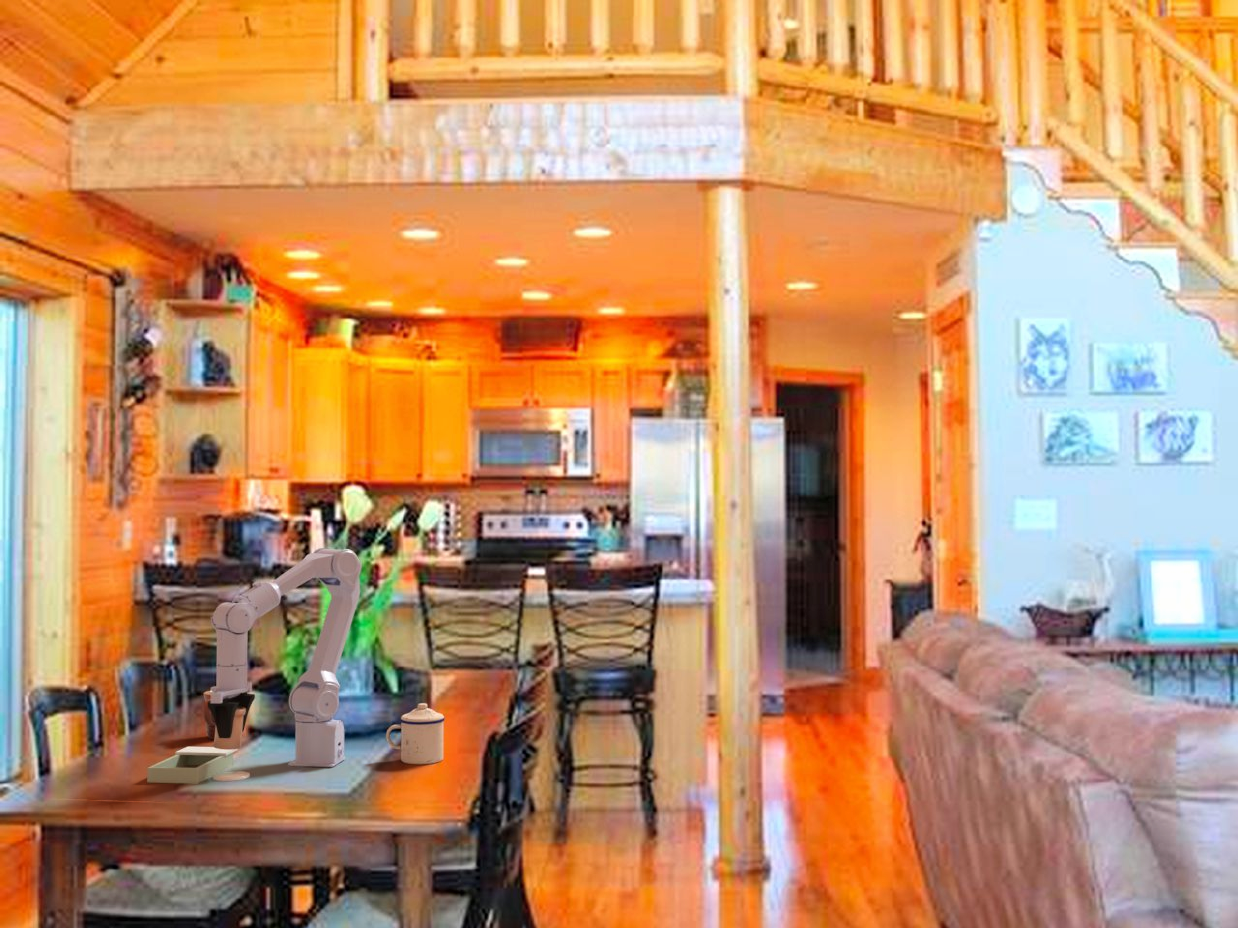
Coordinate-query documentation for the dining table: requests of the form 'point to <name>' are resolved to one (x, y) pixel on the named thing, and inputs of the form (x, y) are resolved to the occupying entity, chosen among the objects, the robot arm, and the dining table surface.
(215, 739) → the pot
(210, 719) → the mug
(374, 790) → the dining table surface
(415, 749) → the teacup with lid
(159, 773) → the box with sliding lid
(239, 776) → the saucer
